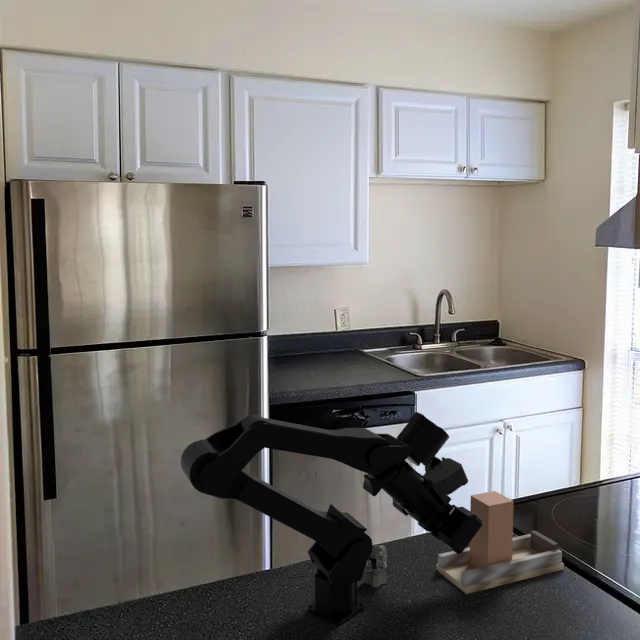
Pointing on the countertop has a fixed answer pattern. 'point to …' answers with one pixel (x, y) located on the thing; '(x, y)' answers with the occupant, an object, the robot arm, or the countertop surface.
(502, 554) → the chute block
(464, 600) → the countertop surface
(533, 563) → the chute
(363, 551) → the robot arm
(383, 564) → the egg carton
